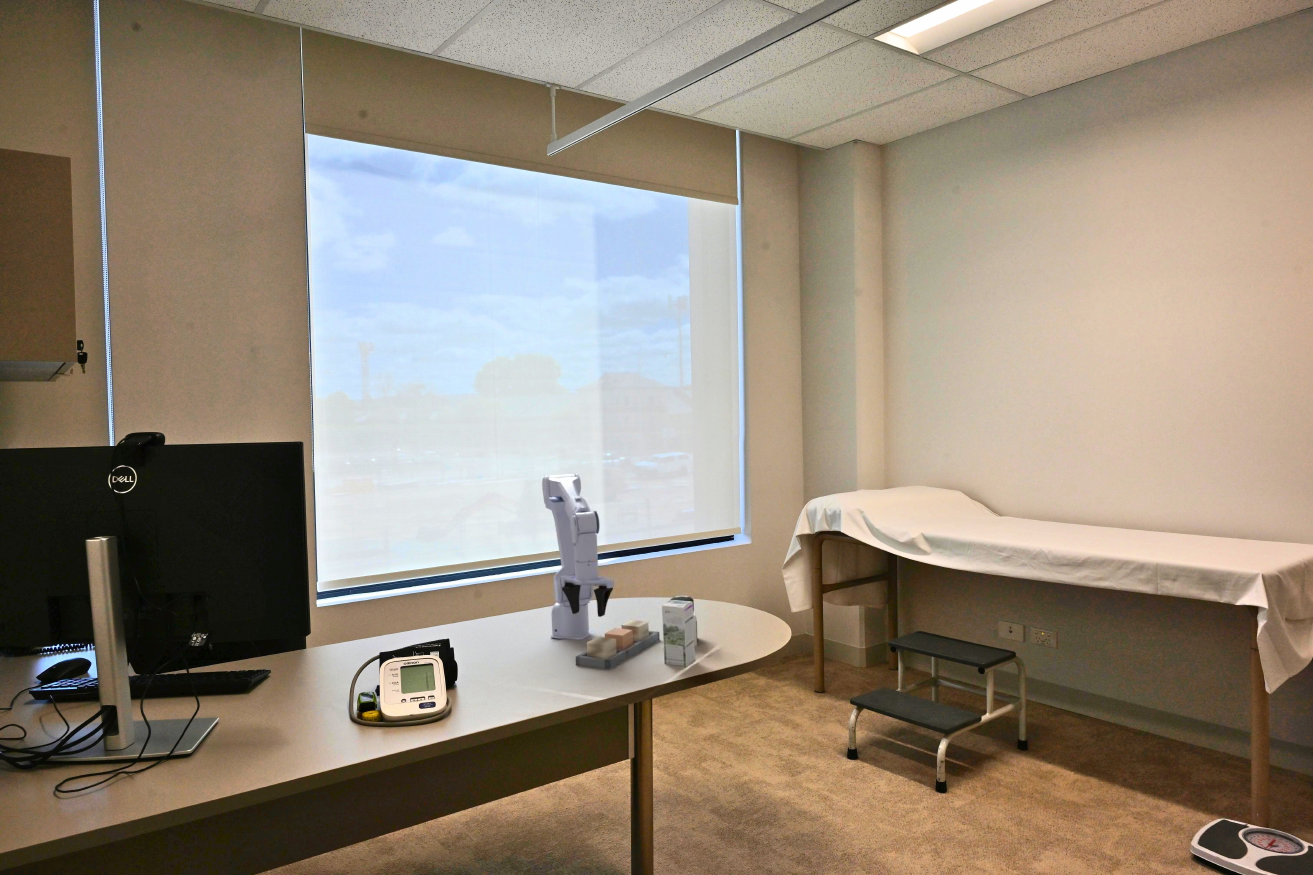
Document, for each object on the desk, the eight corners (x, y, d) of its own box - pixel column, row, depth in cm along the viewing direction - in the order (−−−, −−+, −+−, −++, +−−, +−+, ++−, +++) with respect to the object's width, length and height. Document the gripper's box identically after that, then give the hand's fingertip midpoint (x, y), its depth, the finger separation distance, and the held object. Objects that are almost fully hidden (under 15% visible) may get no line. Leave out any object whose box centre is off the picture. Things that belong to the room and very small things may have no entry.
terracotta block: (605, 653, 199) (604, 633, 199) (615, 647, 203) (614, 628, 203) (623, 655, 197) (622, 635, 196) (633, 649, 201) (632, 629, 201)
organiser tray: (575, 667, 191) (575, 656, 191) (629, 638, 213) (628, 628, 213) (608, 672, 187) (608, 660, 187) (659, 641, 209) (659, 631, 209)
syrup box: (695, 660, 193) (693, 600, 192) (686, 668, 187) (683, 606, 187) (673, 658, 195) (671, 598, 194) (663, 666, 190) (661, 604, 189)
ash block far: (622, 644, 206) (621, 624, 206) (632, 638, 210) (631, 619, 210) (639, 646, 204) (638, 626, 203) (649, 640, 208) (648, 621, 208)
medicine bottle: (697, 648, 203) (696, 600, 202) (669, 648, 203) (667, 601, 202) (696, 639, 210) (695, 593, 209) (669, 640, 210) (667, 594, 209)
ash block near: (587, 663, 192) (586, 642, 192) (599, 657, 196) (598, 636, 196) (605, 665, 190) (604, 644, 189) (616, 659, 194) (615, 638, 194)
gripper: (552, 561, 202) (555, 615, 202) (602, 565, 195) (604, 621, 196) (568, 556, 208) (571, 608, 209) (617, 559, 201) (619, 613, 202)
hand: (588, 614), depth 203 cm, fingers open, 7 cm apart
